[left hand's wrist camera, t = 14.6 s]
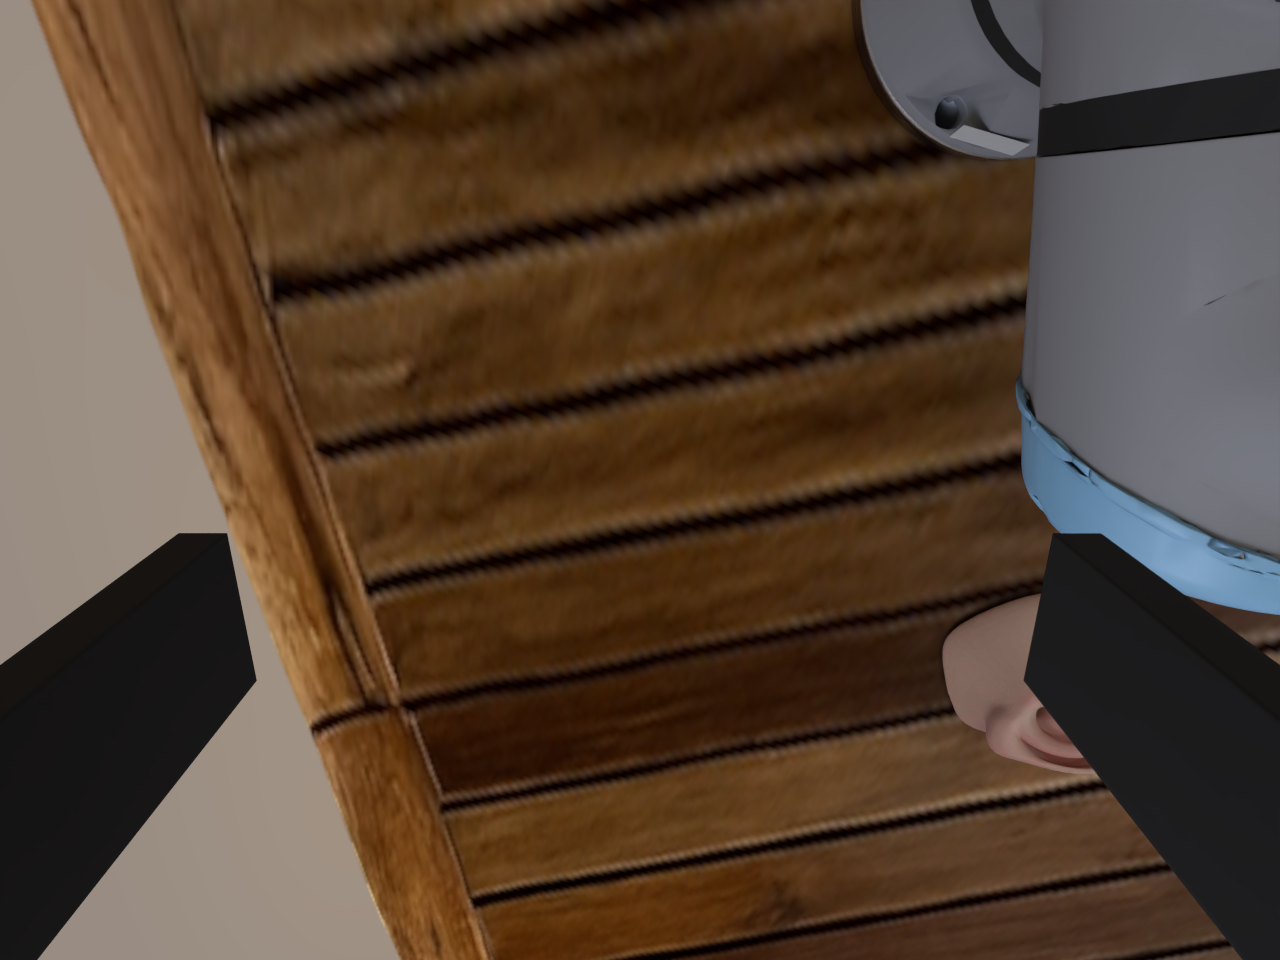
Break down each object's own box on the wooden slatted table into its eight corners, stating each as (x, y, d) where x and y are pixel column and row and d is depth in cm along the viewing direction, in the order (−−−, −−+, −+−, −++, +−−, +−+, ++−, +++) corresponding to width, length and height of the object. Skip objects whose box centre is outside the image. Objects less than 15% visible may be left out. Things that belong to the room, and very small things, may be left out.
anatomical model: (929, 699, 44) (1107, 578, 42) (907, 659, 48) (1069, 546, 45) (1053, 834, 48) (1225, 730, 45) (1023, 787, 51) (1180, 689, 49)
